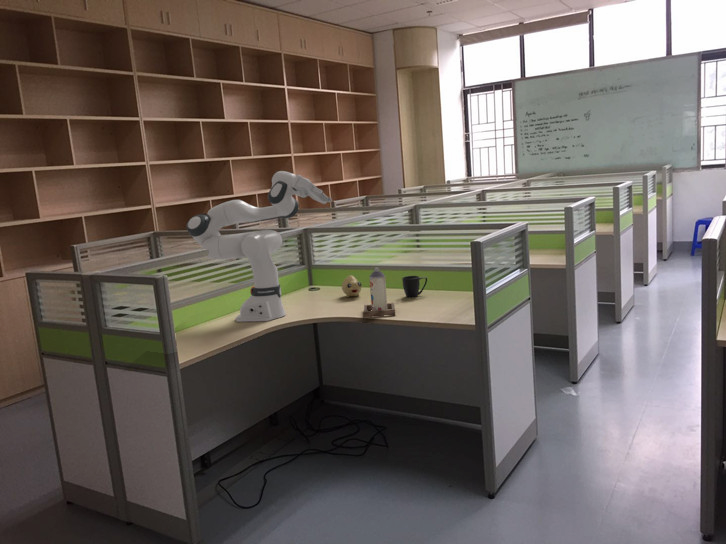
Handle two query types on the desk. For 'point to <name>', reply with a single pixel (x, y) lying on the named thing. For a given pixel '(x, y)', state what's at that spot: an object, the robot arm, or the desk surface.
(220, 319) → the desk surface
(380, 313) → the frame
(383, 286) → the aerosol can
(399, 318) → the desk surface
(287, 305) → the desk surface
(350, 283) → the egg character toy
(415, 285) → the mug
